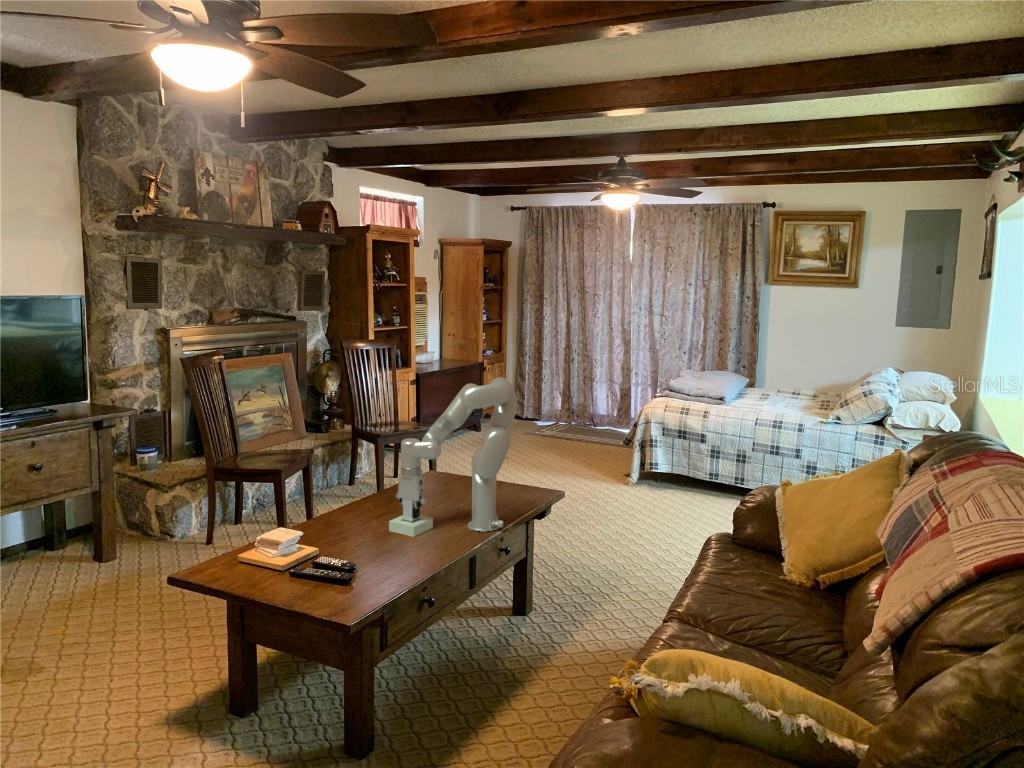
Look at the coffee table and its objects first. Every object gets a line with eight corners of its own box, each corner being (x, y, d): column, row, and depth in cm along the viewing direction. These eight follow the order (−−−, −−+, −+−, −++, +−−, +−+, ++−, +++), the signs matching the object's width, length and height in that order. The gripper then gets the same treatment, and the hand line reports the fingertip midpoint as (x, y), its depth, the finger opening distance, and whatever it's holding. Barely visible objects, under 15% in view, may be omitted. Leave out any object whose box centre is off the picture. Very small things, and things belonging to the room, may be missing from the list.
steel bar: (419, 525, 280) (419, 497, 279) (412, 528, 276) (412, 500, 275) (410, 522, 282) (410, 495, 281) (403, 526, 279) (403, 498, 277)
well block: (432, 527, 282) (432, 517, 281) (413, 536, 272) (413, 526, 271) (408, 522, 288) (408, 512, 287) (389, 530, 278) (389, 521, 277)
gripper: (434, 471, 275) (434, 517, 278) (400, 465, 284) (400, 510, 286) (422, 476, 269) (422, 523, 272) (387, 469, 277) (388, 515, 280)
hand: (411, 516), depth 279 cm, fingers closed on steel bar, 4 cm apart
